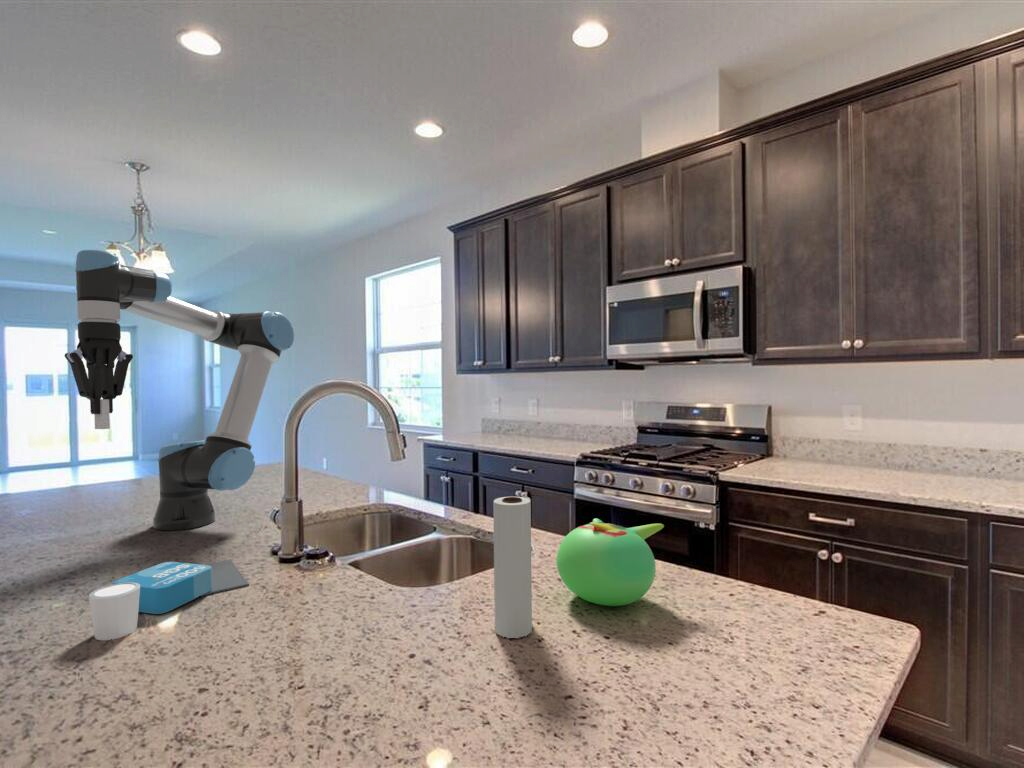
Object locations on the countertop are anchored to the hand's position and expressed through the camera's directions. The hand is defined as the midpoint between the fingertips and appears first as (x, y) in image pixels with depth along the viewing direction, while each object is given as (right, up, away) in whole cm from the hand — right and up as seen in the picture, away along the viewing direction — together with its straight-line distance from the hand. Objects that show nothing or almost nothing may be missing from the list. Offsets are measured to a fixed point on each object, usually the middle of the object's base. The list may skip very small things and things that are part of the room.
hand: (102, 428), depth 121 cm
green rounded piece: (+108, -30, -21) cm, 114 cm away
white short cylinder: (+26, -31, -32) cm, 51 cm away
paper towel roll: (+92, -30, -33) cm, 102 cm away
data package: (+20, -28, -18) cm, 39 cm away
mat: (+27, -30, -10) cm, 42 cm away
